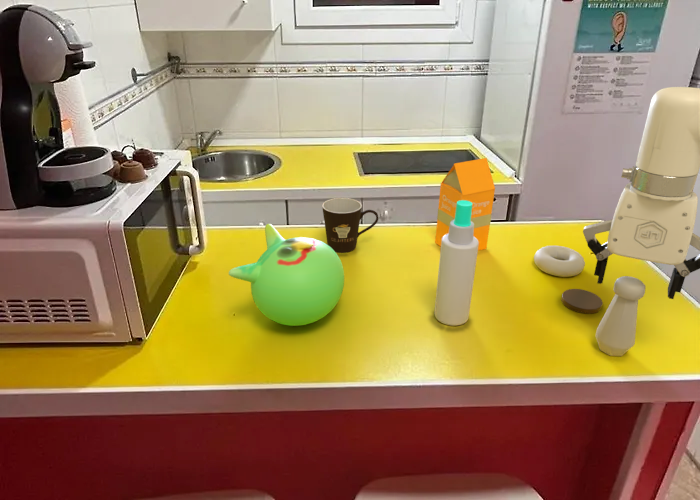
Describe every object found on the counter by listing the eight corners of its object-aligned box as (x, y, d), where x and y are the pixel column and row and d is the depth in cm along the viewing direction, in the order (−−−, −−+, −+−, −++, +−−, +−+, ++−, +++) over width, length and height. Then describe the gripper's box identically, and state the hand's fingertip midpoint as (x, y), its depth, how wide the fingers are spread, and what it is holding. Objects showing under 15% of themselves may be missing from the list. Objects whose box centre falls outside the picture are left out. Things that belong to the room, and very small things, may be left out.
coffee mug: (316, 250, 115) (315, 209, 110) (332, 235, 122) (331, 195, 117) (365, 260, 111) (366, 218, 107) (378, 244, 118) (380, 203, 114)
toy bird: (328, 350, 84) (326, 272, 78) (232, 335, 88) (223, 259, 81) (353, 292, 100) (354, 223, 93) (271, 281, 103) (266, 214, 97)
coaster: (602, 299, 98) (604, 294, 98) (599, 317, 93) (600, 313, 92) (564, 289, 101) (565, 285, 101) (558, 307, 96) (559, 302, 95)
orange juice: (434, 242, 119) (442, 158, 110) (465, 235, 123) (475, 152, 113) (455, 257, 113) (465, 169, 104) (487, 248, 116) (499, 163, 107)
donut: (550, 283, 104) (593, 276, 106) (553, 268, 102) (597, 261, 104) (523, 259, 112) (564, 253, 114) (525, 245, 111) (567, 240, 113)
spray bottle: (432, 307, 96) (443, 195, 85) (465, 308, 95) (480, 196, 85) (436, 326, 90) (448, 210, 80) (471, 327, 90) (487, 211, 80)
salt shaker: (616, 336, 88) (636, 269, 82) (639, 357, 83) (662, 288, 77) (585, 339, 87) (603, 272, 81) (605, 361, 82) (626, 292, 76)
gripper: (592, 180, 73) (571, 285, 80) (741, 200, 65) (701, 313, 73) (597, 165, 78) (577, 264, 86) (734, 181, 71) (698, 288, 79)
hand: (634, 286), depth 80 cm, fingers open, 9 cm apart
